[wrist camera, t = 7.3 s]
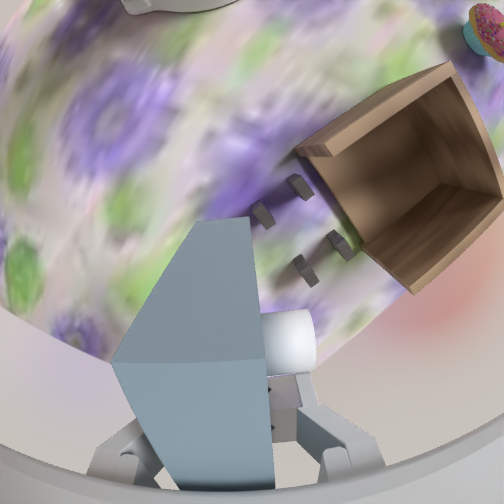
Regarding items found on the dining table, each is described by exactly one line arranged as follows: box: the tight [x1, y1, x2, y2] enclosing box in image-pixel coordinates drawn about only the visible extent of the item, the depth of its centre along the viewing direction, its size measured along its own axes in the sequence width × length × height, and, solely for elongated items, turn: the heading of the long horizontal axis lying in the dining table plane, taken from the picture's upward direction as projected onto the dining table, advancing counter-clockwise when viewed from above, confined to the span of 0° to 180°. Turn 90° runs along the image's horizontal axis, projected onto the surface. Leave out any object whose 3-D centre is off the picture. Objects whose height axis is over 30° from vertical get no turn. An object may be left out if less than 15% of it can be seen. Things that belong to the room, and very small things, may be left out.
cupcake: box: [463, 3, 504, 63], centre depth 16 cm, size 9×8×12 cm
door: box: [111, 216, 316, 492], centre depth 10 cm, size 10×3×9 cm, turn 5°
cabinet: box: [251, 61, 504, 295], centre depth 23 cm, size 13×20×11 cm, turn 128°
